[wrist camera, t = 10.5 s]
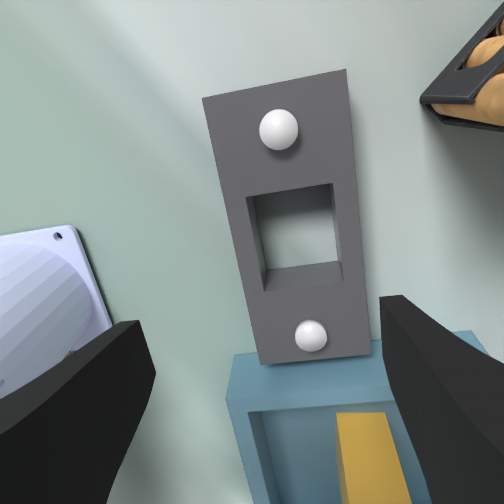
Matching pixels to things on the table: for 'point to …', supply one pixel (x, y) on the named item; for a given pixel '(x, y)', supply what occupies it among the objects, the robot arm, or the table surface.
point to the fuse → (368, 461)
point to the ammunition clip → (473, 81)
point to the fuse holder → (286, 178)
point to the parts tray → (312, 423)
